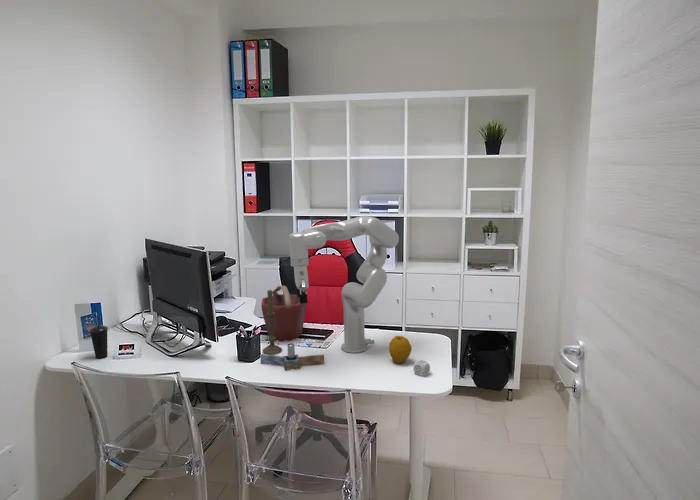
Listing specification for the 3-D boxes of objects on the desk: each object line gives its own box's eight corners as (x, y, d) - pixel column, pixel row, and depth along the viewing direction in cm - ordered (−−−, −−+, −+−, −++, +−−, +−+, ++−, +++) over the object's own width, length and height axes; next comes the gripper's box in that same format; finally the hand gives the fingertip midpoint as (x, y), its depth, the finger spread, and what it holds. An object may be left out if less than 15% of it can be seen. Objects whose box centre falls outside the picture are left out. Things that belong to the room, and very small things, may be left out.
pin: (294, 364, 220) (294, 343, 219) (295, 367, 218) (294, 345, 216) (287, 365, 220) (287, 343, 218) (288, 368, 217) (287, 346, 215)
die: (430, 373, 210) (430, 362, 209) (423, 377, 206) (423, 365, 206) (420, 370, 213) (420, 358, 212) (413, 374, 210) (413, 362, 209)
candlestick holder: (278, 355, 231) (275, 292, 226) (259, 354, 233) (256, 291, 227) (284, 348, 240) (282, 286, 234) (266, 346, 242) (263, 286, 236)
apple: (414, 359, 224) (414, 334, 222) (405, 367, 216) (406, 341, 214) (394, 355, 229) (394, 331, 227) (385, 363, 220) (385, 337, 218)
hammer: (321, 356, 229) (321, 348, 228) (325, 366, 218) (325, 357, 218) (260, 362, 223) (260, 353, 223) (261, 372, 213) (261, 363, 212)
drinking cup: (114, 355, 234) (110, 313, 230) (100, 361, 227) (95, 318, 224) (103, 352, 237) (98, 311, 234) (88, 358, 230) (83, 316, 227)
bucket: (265, 328, 268) (262, 282, 263) (306, 326, 270) (305, 280, 266) (262, 345, 244) (259, 295, 239) (308, 342, 246) (306, 293, 242)
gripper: (311, 265, 208) (313, 304, 212) (305, 256, 225) (308, 293, 228) (293, 267, 207) (296, 306, 210) (288, 258, 223) (291, 295, 227)
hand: (302, 299), depth 219 cm, fingers open, 9 cm apart
